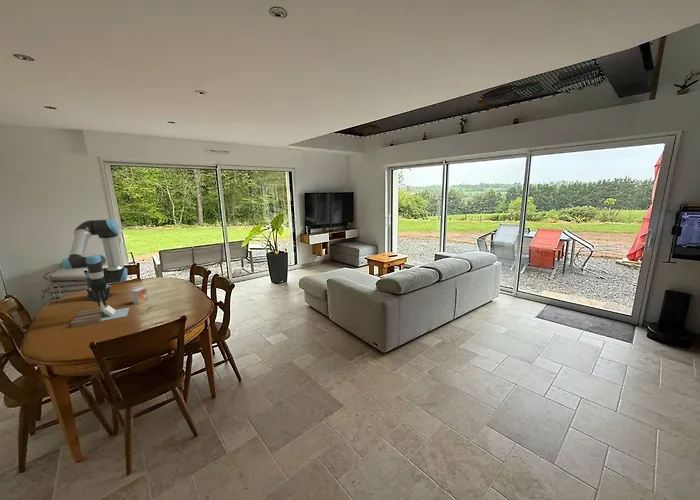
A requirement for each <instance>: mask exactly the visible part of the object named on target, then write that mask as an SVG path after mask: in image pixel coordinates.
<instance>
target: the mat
mask: <svg viewBox="0 0 700 500" xmlns="http://www.w3.org/2000/svg"><path fill="white" fill-rule="evenodd" d="M115 310H116V311H115V313H114V315H113V316H109V315H108V314H106V313H104V315H103V317H102V319H101V321H100V322H104V321H109V320H115V319H119V318H124V317H125V318H126V317H127V316H128V314H129V311H130V307H125V308H124V307H123V308H118V309H115Z"/></svg>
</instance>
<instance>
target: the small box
mask: <svg viewBox="0 0 700 500" xmlns="http://www.w3.org/2000/svg"><path fill="white" fill-rule="evenodd" d="M131 297H132V298H131V299H132V304H136V305H139V304H141V303H142V304H143V303H144V302H147V301H148V300H149V299H148V293H147V288H146V287H139V288H135V289H133V290H131Z"/></svg>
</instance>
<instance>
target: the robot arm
mask: <svg viewBox="0 0 700 500" xmlns="http://www.w3.org/2000/svg"><path fill="white" fill-rule="evenodd" d="M119 233H120V227H119V224H118V223H117V221H116V220H114V219H93V220H92V219H91V220H86V221H83V222H81V223H80V224H78V226H77V227H76V228H75V229H74V232H73V236H74V237H73V241H72V245H71V249H70V251H69V254H68V257H66V258H62V260H61V267H62V268H63V269H64V270H75V269H85V268H87V272H85V282H86V285H87V289H86V290H85V291H86V292H87V293H86V299H87V301H93V302H94V303H97V306H98V307H99V308H101V311H104V309H105V307H106V306H107V302H106V301H108V300H109V297H111V296H112V292H111V291H110V289H111V287H112V286H111V285H110V284H118V283H124V282H126V281H127V280H128V276H129V275H128V268H127V267H125V265H123V264H122V262H121V258H120V251H119V247H118V243H117V239H116V238H117V237H118V234H119ZM92 236H98V238H99V239H100V240H101V242H102V246H103V251H104V254H105V255H104V254H91V255H87V256H85V252H86V249H87V245H88V241H89V239H91V237H92ZM106 263H107V267H106V269H104V268H103V266H104V265H105V264H106Z"/></svg>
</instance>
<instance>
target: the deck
mask: <svg viewBox="0 0 700 500" xmlns="http://www.w3.org/2000/svg"><path fill="white" fill-rule="evenodd" d="M104 313H105V312H103V311H101V307H98V308H92V309H85V310H80V311H78V313H77V314H76V315H75V317H74V318H73V319H72V321H71V322H70V327H71V329H73V328H76V327H77V328H78V327H81V326H86V325H87V326H88V325H93V324H98V323H101V322H102V321H101V319H102V317H103V315H104Z"/></svg>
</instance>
